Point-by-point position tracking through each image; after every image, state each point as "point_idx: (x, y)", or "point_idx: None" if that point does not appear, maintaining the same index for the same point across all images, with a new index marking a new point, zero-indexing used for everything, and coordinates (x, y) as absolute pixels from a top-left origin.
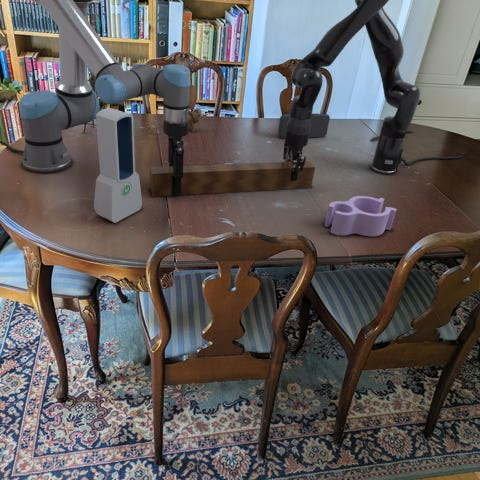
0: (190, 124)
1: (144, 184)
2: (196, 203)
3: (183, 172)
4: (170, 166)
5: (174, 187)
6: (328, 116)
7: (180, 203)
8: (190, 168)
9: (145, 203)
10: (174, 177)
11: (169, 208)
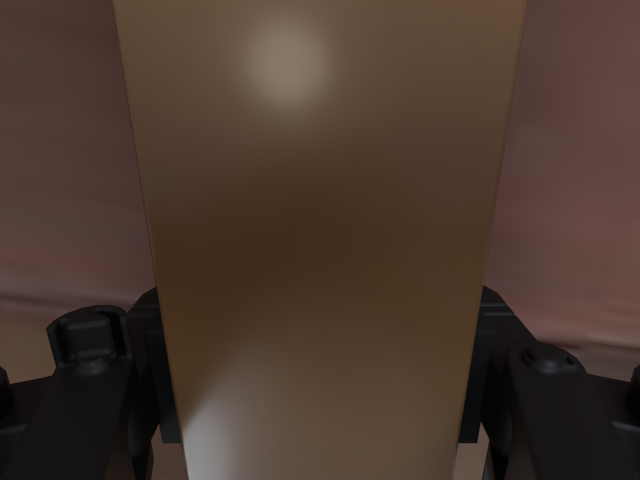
0: None
1: (171, 444)
2: (596, 92)
3: (473, 319)
4: (197, 475)
5: None
6: None
7: (545, 242)
8: (300, 139)
9: (468, 466)
10: (476, 412)
11: (595, 337)
